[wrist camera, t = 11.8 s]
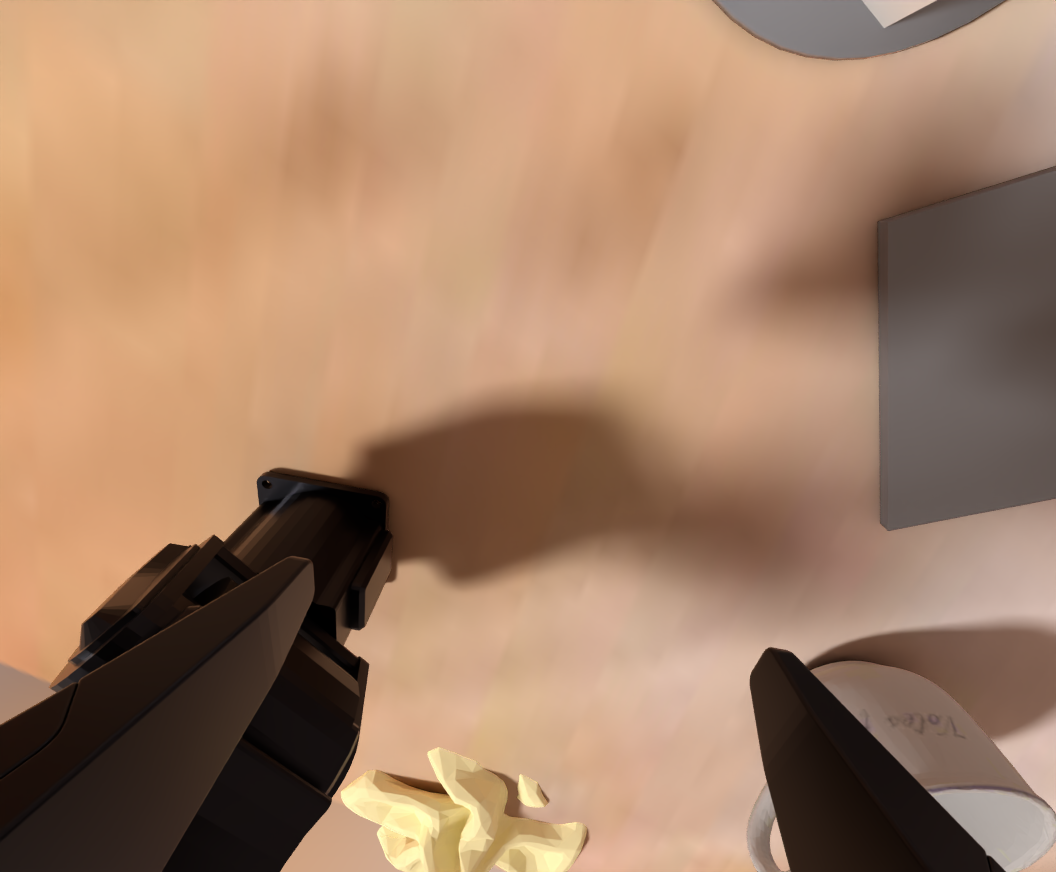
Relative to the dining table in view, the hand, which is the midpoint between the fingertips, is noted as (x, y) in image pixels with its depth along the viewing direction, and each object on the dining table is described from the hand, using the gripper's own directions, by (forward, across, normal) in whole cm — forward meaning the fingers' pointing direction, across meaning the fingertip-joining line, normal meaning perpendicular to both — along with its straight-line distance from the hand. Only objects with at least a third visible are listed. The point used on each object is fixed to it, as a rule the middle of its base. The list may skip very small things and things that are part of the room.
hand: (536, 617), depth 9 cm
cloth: (+13, 0, +36) cm, 39 cm away
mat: (+13, -20, -5) cm, 24 cm away
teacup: (+13, -20, +18) cm, 30 cm away
